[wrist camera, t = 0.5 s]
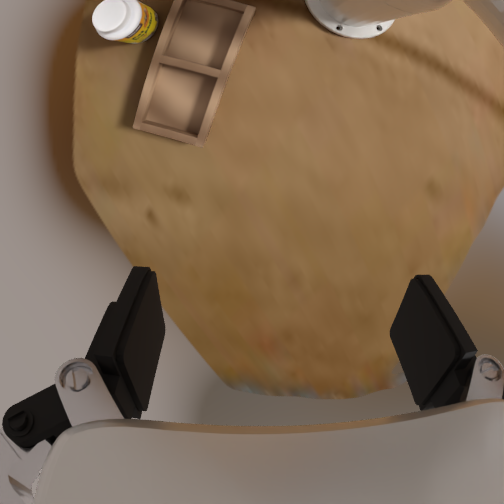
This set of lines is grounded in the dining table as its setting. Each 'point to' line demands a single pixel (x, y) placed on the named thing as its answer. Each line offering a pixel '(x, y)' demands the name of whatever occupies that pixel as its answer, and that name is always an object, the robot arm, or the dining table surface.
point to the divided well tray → (191, 68)
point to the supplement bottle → (125, 21)
